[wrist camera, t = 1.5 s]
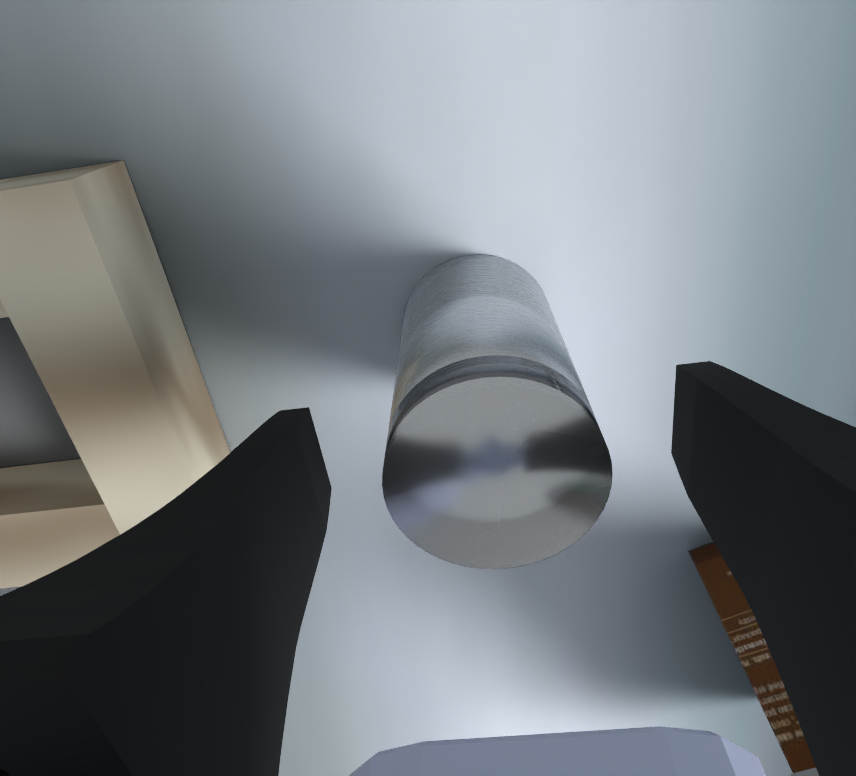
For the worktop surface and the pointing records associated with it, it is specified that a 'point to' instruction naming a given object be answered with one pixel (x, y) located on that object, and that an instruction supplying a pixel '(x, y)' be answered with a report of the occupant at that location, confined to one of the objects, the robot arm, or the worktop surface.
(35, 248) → the board
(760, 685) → the food container
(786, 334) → the worktop surface
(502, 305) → the silver metal cylinder
